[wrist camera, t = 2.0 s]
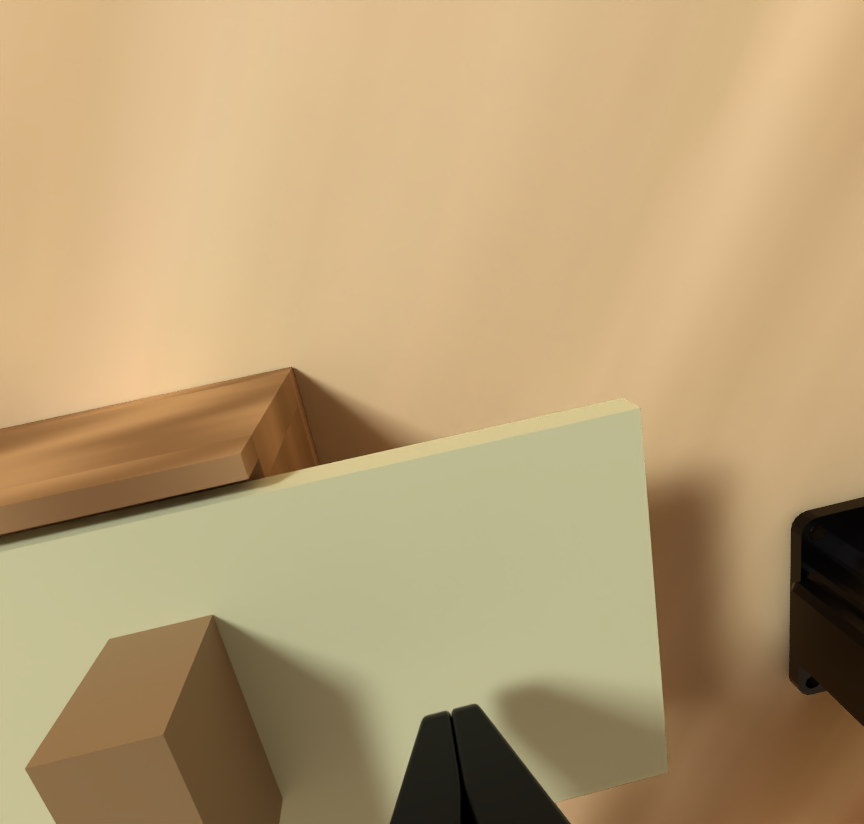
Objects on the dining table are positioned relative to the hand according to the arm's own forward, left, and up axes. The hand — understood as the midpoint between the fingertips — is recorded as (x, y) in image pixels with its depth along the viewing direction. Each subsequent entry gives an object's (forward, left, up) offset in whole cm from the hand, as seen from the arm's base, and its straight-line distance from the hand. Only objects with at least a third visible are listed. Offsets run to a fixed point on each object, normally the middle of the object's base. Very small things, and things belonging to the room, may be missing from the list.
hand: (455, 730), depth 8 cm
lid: (+4, 0, -2) cm, 4 cm away
